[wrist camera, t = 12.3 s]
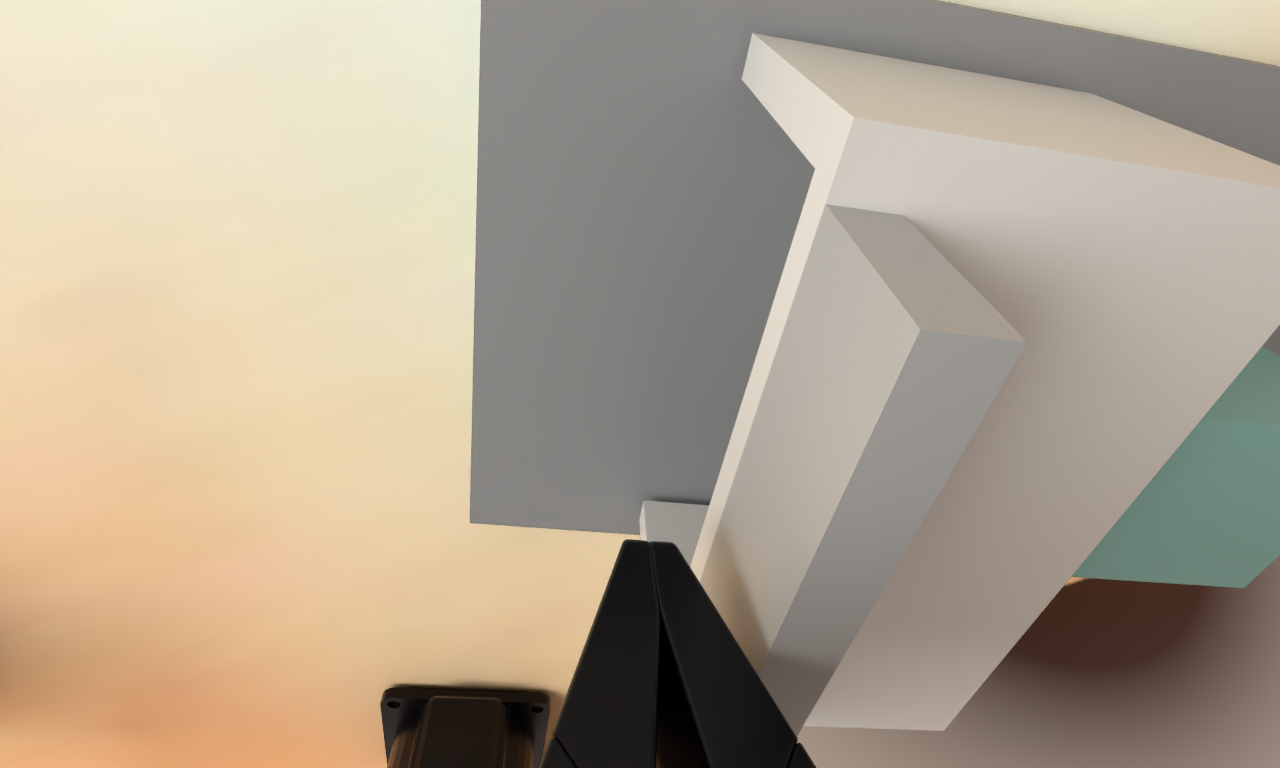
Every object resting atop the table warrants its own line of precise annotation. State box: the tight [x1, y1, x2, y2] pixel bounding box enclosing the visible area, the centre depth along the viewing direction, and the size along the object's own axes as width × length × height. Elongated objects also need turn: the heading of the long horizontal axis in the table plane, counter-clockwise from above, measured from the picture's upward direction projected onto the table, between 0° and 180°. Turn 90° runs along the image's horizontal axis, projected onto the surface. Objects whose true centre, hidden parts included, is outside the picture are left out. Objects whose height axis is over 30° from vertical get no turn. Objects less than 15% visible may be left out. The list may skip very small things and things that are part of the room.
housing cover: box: [639, 33, 1280, 736], centre depth 13 cm, size 13×7×9 cm, turn 171°
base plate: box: [470, 0, 1280, 535], centre depth 17 cm, size 15×21×3 cm
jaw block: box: [1071, 345, 1280, 588], centre depth 16 cm, size 4×6×5 cm
